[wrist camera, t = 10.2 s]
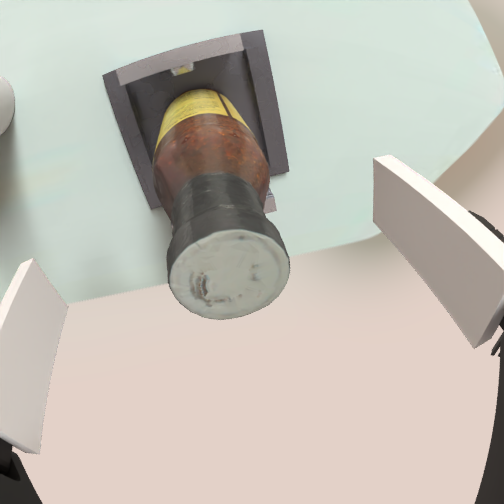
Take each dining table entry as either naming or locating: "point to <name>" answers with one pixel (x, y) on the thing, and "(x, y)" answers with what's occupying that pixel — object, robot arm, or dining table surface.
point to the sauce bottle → (217, 209)
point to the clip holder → (194, 77)
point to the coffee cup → (6, 104)
